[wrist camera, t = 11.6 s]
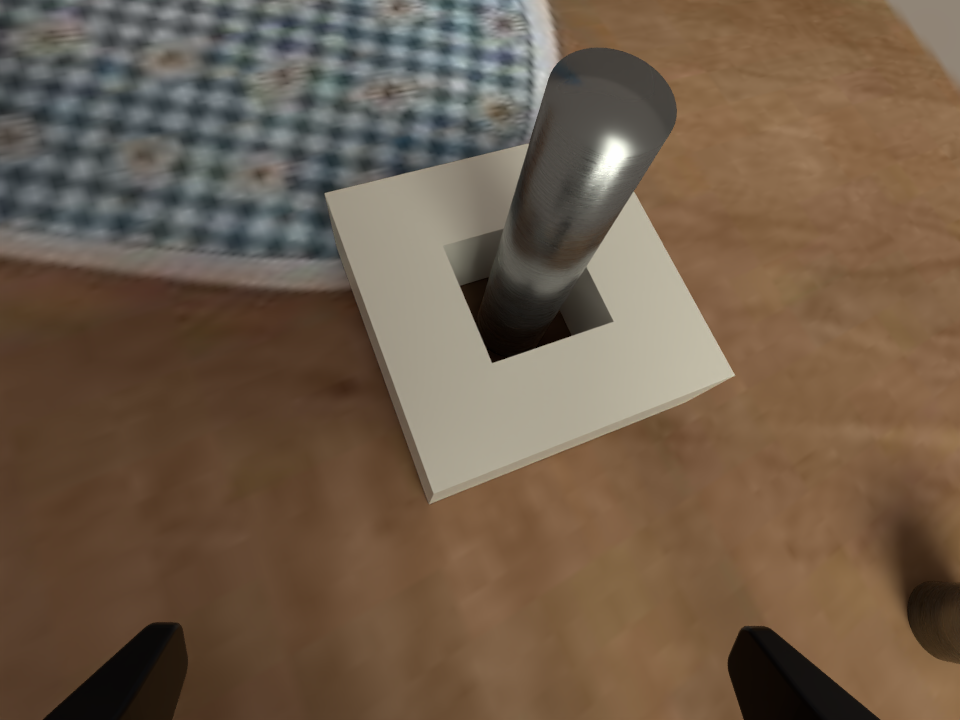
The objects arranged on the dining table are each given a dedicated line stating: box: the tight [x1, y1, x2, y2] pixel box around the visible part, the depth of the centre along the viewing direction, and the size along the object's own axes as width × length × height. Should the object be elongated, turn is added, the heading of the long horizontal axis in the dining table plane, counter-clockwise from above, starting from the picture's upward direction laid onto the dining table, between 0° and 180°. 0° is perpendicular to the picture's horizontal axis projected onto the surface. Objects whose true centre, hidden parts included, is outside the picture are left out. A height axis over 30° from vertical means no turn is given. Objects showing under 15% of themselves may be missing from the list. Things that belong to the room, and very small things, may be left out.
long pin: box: [476, 48, 677, 357], centre depth 18 cm, size 3×3×13 cm
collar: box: [324, 143, 735, 504], centre depth 23 cm, size 12×12×4 cm
